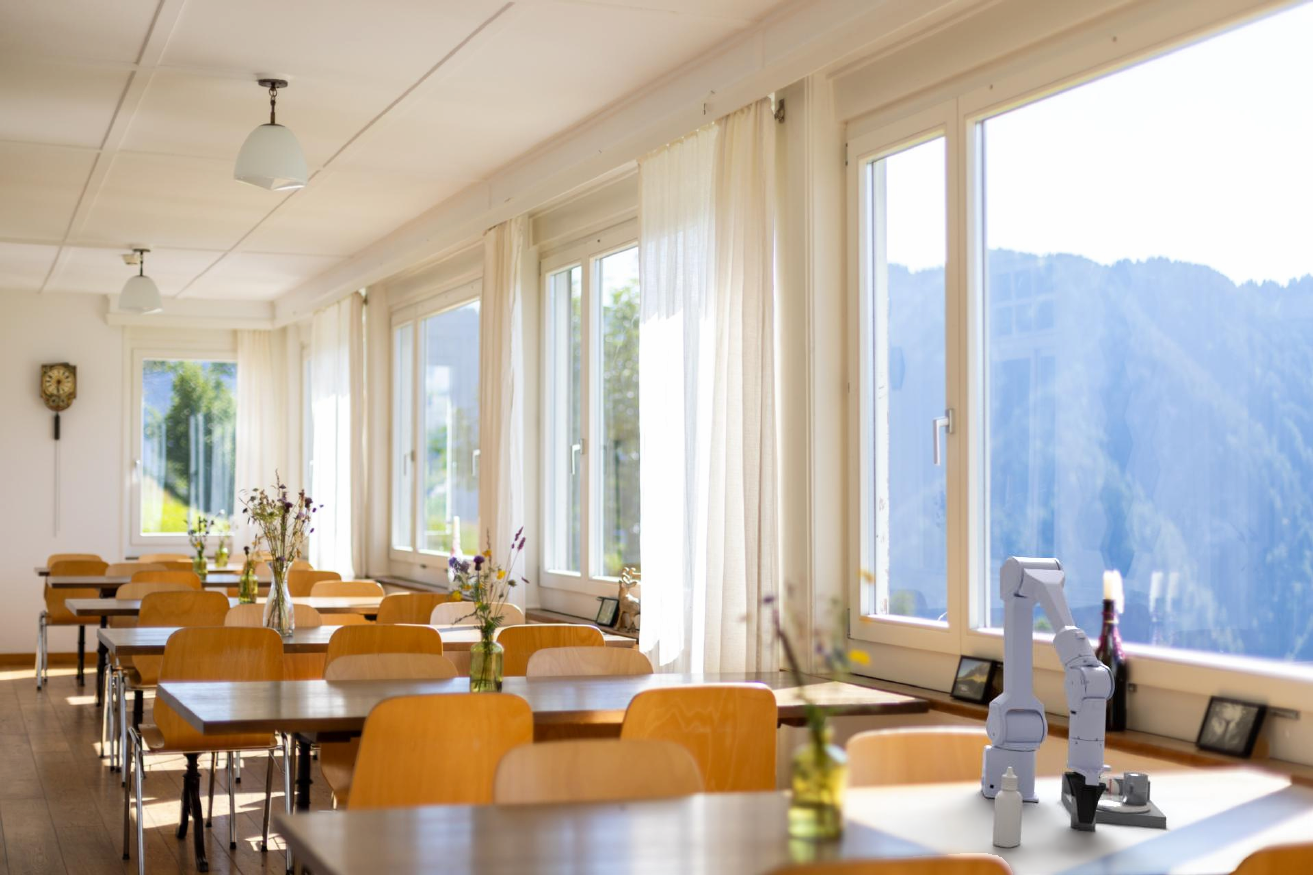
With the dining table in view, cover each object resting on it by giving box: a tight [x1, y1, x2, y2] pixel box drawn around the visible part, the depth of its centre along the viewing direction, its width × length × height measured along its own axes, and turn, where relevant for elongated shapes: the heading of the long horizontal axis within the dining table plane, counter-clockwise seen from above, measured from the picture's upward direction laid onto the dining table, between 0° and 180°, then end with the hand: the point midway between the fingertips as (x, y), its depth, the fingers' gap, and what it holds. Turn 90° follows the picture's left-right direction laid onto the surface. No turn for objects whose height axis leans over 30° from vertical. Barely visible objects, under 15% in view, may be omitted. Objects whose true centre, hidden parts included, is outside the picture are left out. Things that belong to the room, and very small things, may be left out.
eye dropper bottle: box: [992, 767, 1023, 849], centre depth 206 cm, size 4×6×12 cm
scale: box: [1060, 771, 1167, 829], centre depth 230 cm, size 15×15×5 cm
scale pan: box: [1097, 793, 1150, 814], centre depth 229 cm, size 12×12×1 cm
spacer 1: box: [1069, 795, 1097, 832], centre depth 219 cm, size 4×4×5 cm
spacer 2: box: [1123, 771, 1149, 806], centre depth 228 cm, size 4×4×5 cm
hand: (1083, 819), depth 219 cm, fingers closed on spacer 1, 4 cm apart
